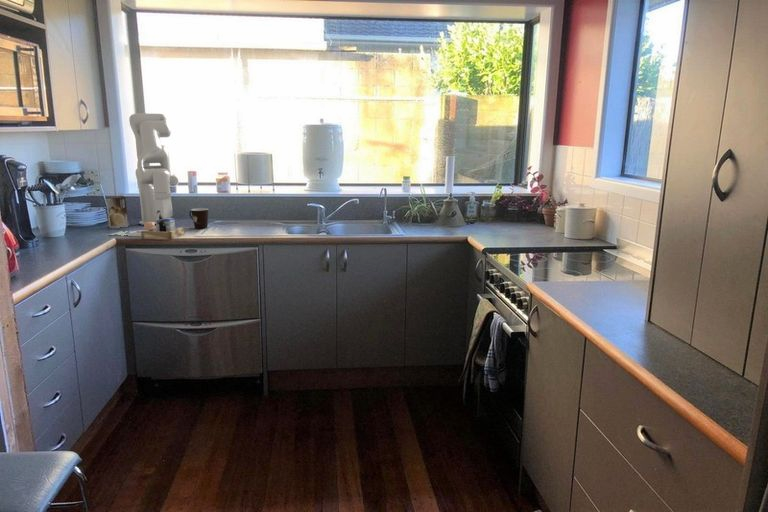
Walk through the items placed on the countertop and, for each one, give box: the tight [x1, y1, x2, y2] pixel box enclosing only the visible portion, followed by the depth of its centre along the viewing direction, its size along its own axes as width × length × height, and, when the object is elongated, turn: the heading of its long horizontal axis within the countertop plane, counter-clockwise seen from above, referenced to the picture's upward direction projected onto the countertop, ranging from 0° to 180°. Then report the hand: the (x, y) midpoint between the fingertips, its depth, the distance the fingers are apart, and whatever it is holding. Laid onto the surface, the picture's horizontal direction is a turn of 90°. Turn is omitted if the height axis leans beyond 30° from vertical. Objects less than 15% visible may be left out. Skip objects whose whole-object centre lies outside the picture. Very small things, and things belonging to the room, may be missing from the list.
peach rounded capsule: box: [143, 222, 156, 230], centre depth 285 cm, size 5×5×5 cm
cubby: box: [140, 226, 185, 241], centre depth 274 cm, size 14×15×4 cm
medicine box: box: [155, 217, 176, 232], centre depth 276 cm, size 8×4×9 cm, turn 81°
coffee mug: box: [188, 207, 209, 230], centre depth 296 cm, size 12×9×10 cm
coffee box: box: [104, 195, 130, 229], centre depth 297 cm, size 9×6×16 cm
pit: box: [128, 229, 143, 237], centre depth 277 cm, size 7×7×2 cm
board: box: [109, 230, 129, 237], centre depth 280 cm, size 10×9×1 cm
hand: (165, 232), depth 277 cm, fingers closed on medicine box, 4 cm apart
